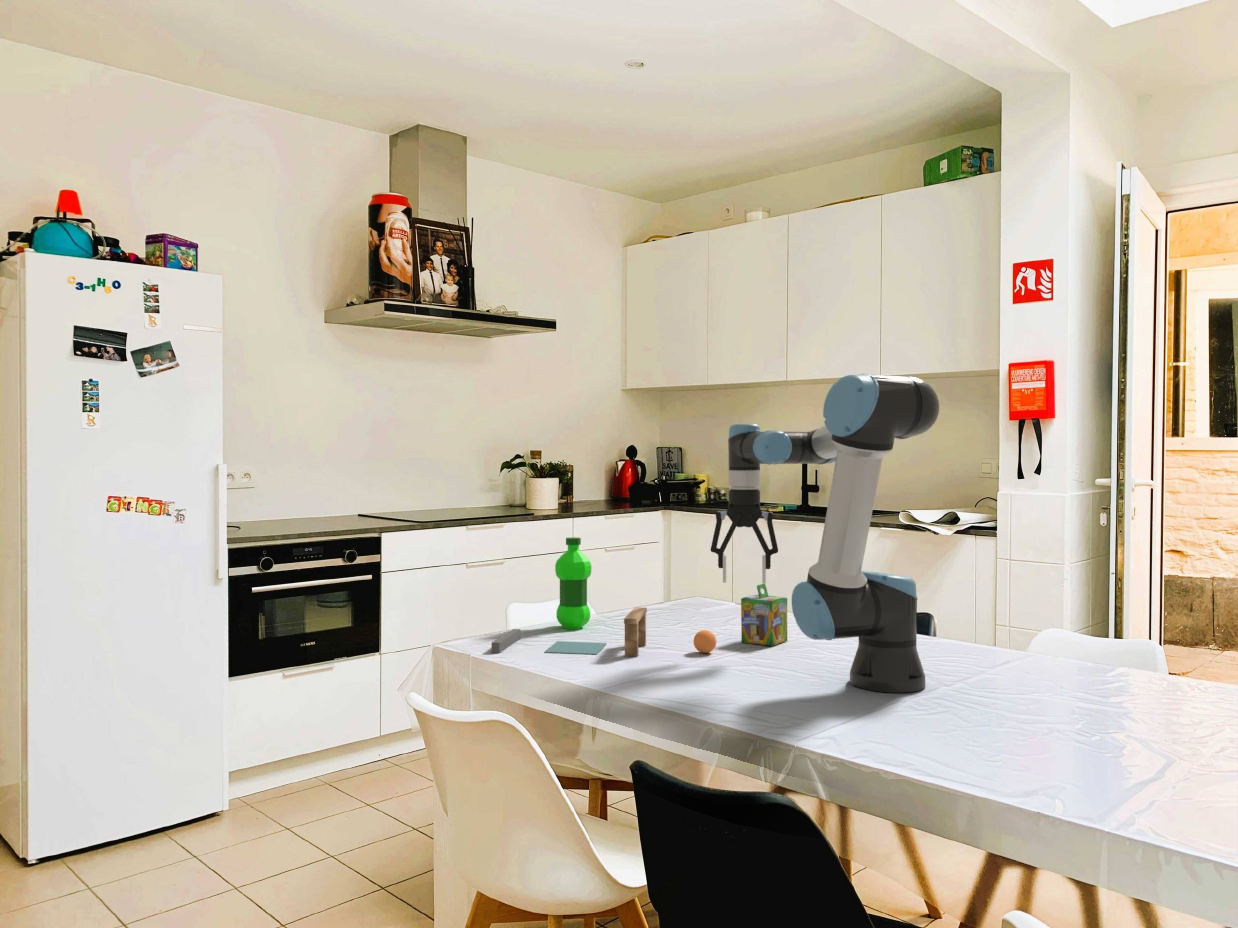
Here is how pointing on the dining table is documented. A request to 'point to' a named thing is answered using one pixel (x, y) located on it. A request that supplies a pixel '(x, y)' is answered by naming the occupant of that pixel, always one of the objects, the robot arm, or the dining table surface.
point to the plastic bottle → (573, 586)
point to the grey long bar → (506, 640)
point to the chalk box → (763, 618)
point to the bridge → (635, 631)
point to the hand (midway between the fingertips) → (744, 582)
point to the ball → (704, 641)
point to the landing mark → (575, 647)
